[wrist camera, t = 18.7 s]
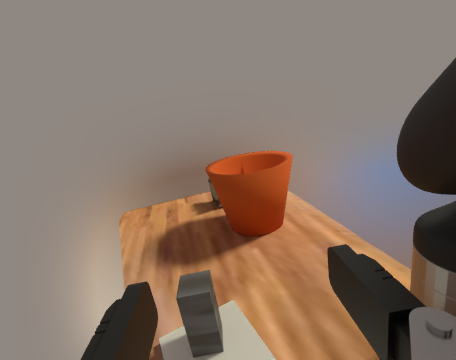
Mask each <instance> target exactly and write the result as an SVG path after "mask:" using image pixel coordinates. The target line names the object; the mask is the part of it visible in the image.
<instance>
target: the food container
mask: <svg viewBox="0 0 456 360" xmlns="http://www.w3.org/2000/svg"><path fill="white" fill-rule="evenodd" d="M208 182H209V185H210V189H211V194H212V198H213V202H214V203H215V204H216V205H217V206H218V207H219V208H220V209H221V208H223V207H222V205H221V203H220V200H219V198H218V196H217V194H216V192H215V189H214V187H213V185H212V183H211V181H210V178H208Z"/></svg>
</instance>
